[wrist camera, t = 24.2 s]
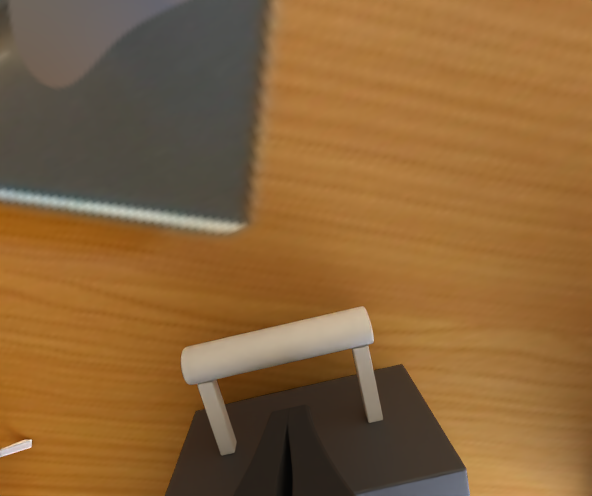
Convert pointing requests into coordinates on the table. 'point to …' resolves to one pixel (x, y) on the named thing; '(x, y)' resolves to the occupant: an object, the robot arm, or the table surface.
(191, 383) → the drawer
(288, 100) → the table surface
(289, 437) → the robot arm
